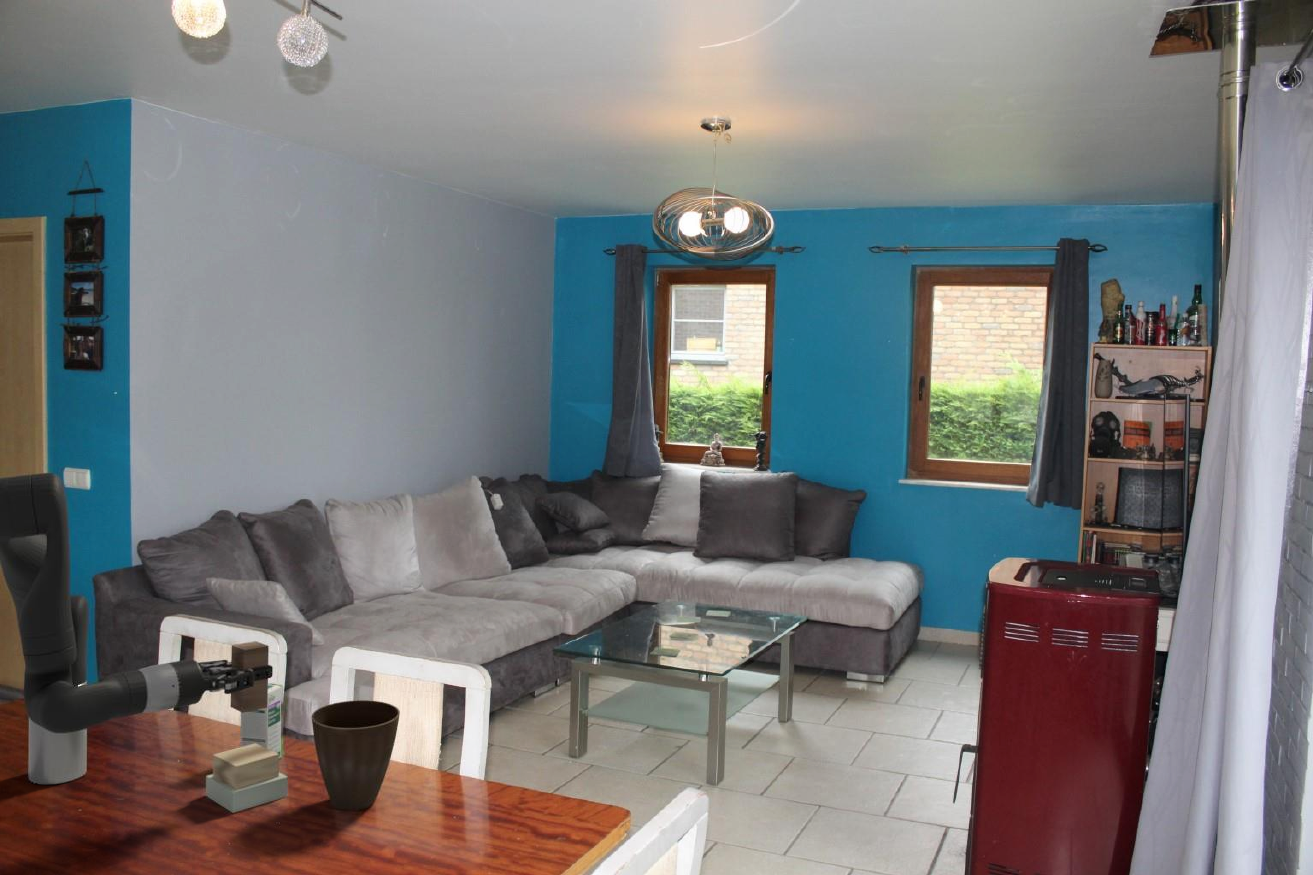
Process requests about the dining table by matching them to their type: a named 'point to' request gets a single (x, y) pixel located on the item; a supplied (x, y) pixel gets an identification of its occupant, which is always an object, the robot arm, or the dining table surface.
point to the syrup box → (265, 723)
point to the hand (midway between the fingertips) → (263, 667)
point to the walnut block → (258, 694)
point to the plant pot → (354, 749)
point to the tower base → (246, 792)
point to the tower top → (245, 765)
